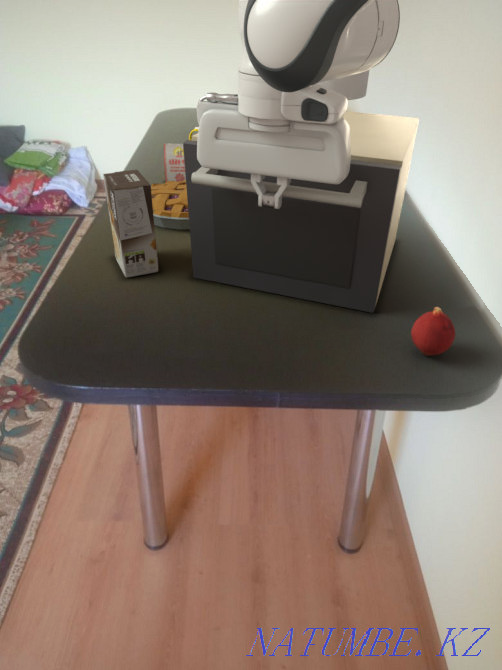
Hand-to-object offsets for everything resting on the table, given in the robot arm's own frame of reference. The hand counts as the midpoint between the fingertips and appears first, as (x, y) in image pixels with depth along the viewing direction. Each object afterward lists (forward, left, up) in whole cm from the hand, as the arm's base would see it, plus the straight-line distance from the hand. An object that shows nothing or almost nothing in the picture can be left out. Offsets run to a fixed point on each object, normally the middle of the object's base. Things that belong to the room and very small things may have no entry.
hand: (269, 206), depth 71 cm
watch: (+49, -84, -19) cm, 99 cm away
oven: (0, -24, -19) cm, 30 cm away
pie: (+30, -35, -19) cm, 50 cm away
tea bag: (+40, -52, -19) cm, 68 cm away
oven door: (0, -6, -19) cm, 19 cm away
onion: (-25, 0, -19) cm, 31 cm away
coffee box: (+28, -9, -19) cm, 35 cm away
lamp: (+11, -82, -19) cm, 85 cm away
